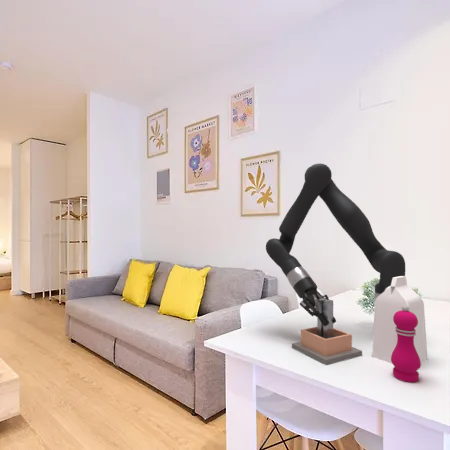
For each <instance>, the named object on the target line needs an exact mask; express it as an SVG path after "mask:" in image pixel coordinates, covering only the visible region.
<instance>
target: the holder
mask: <svg viewBox="0 0 450 450" xmlns="http://www.w3.org/2000/svg"><path fill="white" fill-rule="evenodd" d="M315 334H317V326H313V327H308V328H302V329H300V340H299V341H296V342H291V348H292V349H293V350H296V351H298V352H300V353H302V354H304V355H305V356H307V357H310V358H311V359H313V360H315V361H317V362H319V363H321V364H323V365H325V366H328V365H331V364H335V363H338V362H344V361H346V360H350V359H355V358H358V357H361V356H363V350H361V349H358V348H356V347H353V335H352V334H351V333H348V332H346V331H343V330H340V329H337V328H335V327H333V336H336V337H333V338H328V339H325V338H322V337H320V336H317V335H315Z"/></svg>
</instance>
